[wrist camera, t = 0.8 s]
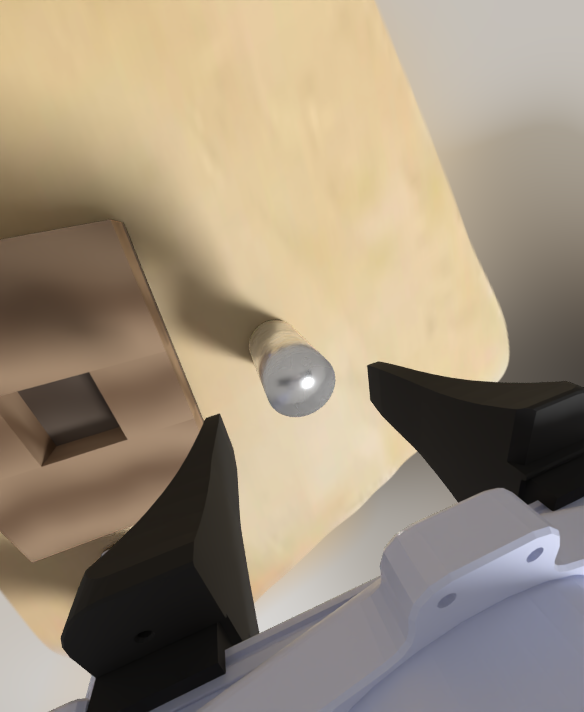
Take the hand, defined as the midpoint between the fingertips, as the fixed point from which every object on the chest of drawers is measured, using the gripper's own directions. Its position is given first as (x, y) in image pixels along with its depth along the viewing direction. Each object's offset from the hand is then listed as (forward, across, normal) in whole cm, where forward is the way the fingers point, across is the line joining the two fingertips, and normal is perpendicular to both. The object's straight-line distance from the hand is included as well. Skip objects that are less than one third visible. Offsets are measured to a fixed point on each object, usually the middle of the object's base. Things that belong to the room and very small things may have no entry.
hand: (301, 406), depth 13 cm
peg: (+10, -1, 0) cm, 10 cm away
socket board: (+9, +13, 0) cm, 16 cm away
